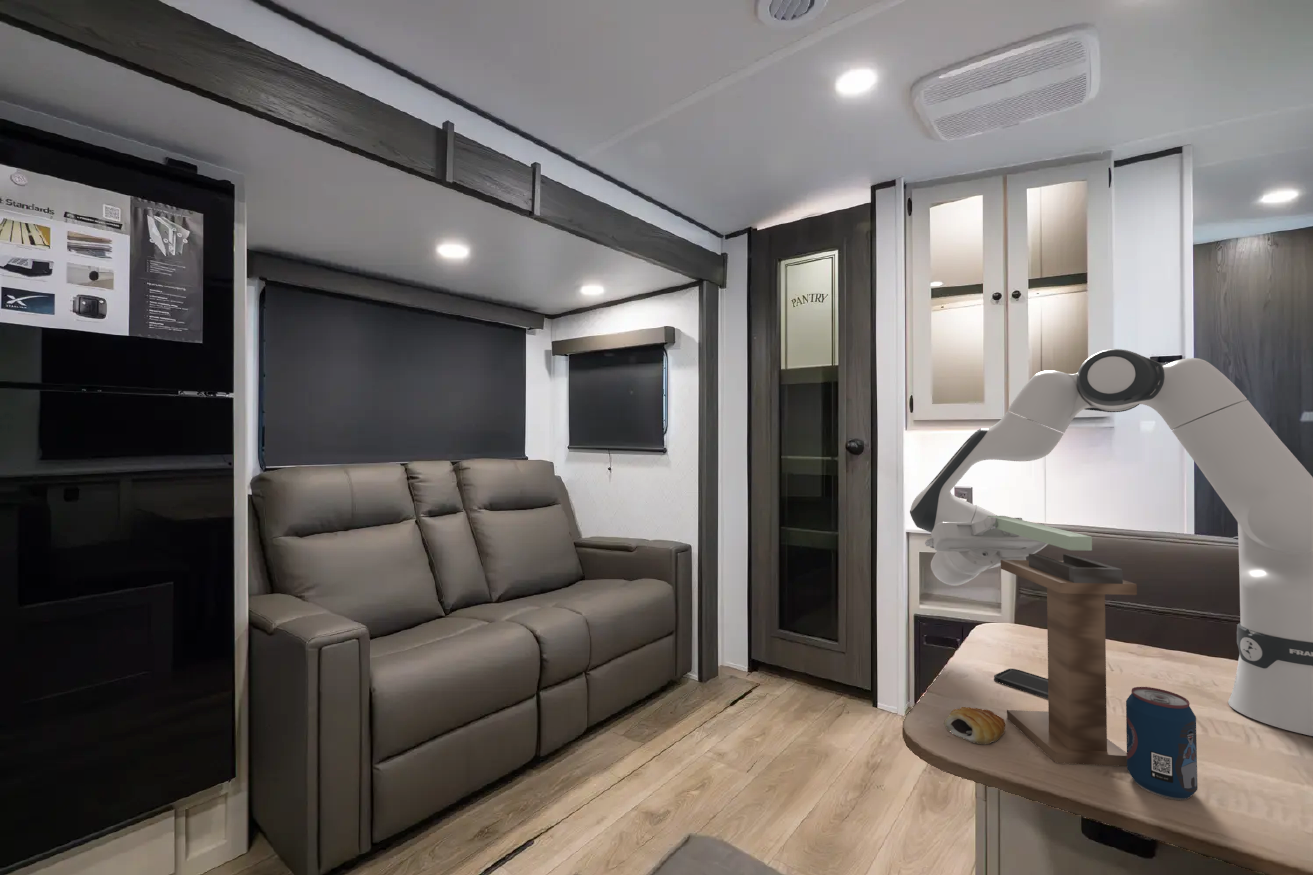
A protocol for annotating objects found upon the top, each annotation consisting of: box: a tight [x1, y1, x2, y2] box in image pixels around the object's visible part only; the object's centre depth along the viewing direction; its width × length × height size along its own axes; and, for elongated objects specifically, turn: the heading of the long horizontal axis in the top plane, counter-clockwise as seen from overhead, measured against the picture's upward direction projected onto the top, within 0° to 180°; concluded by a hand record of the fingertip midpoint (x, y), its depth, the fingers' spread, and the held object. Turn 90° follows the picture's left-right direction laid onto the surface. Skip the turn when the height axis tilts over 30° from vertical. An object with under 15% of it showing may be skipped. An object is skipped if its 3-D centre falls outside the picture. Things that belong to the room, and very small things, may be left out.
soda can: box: [1125, 686, 1198, 801], centre depth 74 cm, size 7×7×12 cm
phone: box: [993, 668, 1048, 700], centre depth 104 cm, size 8×1×15 cm
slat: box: [988, 515, 1093, 551], centre depth 93 cm, size 3×24×2 cm, turn 175°
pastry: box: [943, 706, 1006, 745], centre depth 88 cm, size 9×7×4 cm
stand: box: [1000, 553, 1138, 768], centre depth 86 cm, size 10×16×28 cm, turn 175°
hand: (1006, 521), depth 102 cm, fingers closed on slat, 3 cm apart
